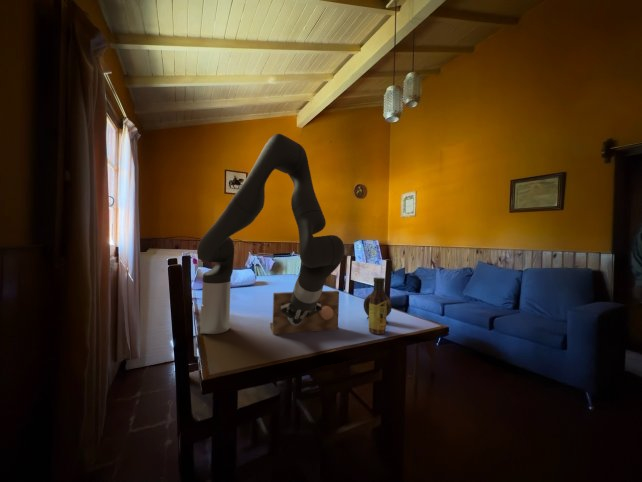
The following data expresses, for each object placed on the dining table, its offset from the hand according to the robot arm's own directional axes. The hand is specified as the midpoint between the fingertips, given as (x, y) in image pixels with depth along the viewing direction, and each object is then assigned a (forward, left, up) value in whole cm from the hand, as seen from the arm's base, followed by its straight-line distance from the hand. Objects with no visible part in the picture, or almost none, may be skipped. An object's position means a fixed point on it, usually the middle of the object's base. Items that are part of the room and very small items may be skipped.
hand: (296, 321), depth 86 cm
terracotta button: (+12, +9, -1) cm, 15 cm away
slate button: (0, +6, -1) cm, 6 cm away
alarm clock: (+37, +14, -7) cm, 40 cm away
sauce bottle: (+31, +3, -7) cm, 32 cm away
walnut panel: (+6, +13, -7) cm, 16 cm away
